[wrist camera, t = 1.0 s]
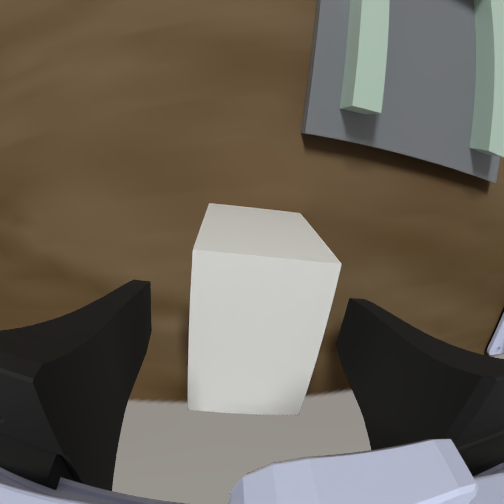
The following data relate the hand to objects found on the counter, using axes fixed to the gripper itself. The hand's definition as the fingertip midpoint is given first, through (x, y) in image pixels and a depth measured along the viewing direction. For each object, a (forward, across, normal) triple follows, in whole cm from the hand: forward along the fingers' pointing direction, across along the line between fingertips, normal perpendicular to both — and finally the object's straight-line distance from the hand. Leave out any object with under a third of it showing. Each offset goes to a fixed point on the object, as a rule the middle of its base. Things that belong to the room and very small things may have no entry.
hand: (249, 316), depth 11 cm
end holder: (+4, -7, -13) cm, 15 cm away
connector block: (+4, 0, 0) cm, 4 cm away
